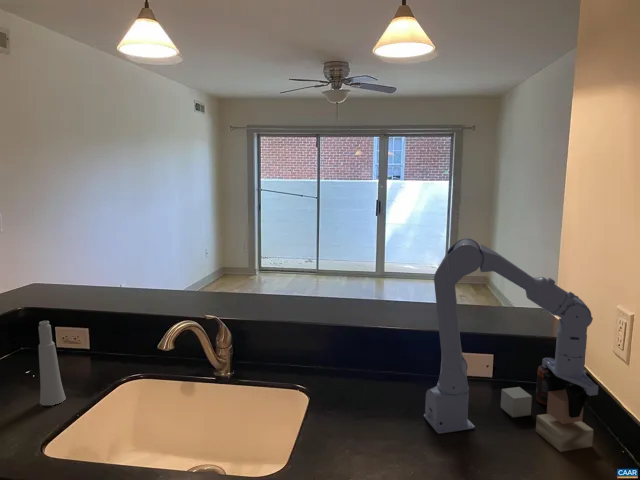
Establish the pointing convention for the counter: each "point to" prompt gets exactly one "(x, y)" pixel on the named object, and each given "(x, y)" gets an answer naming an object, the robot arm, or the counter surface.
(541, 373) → the supplement bottle
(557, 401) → the terracotta cube
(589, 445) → the birch base block
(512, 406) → the grey cube
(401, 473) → the counter surface
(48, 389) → the cosmetic bottle
